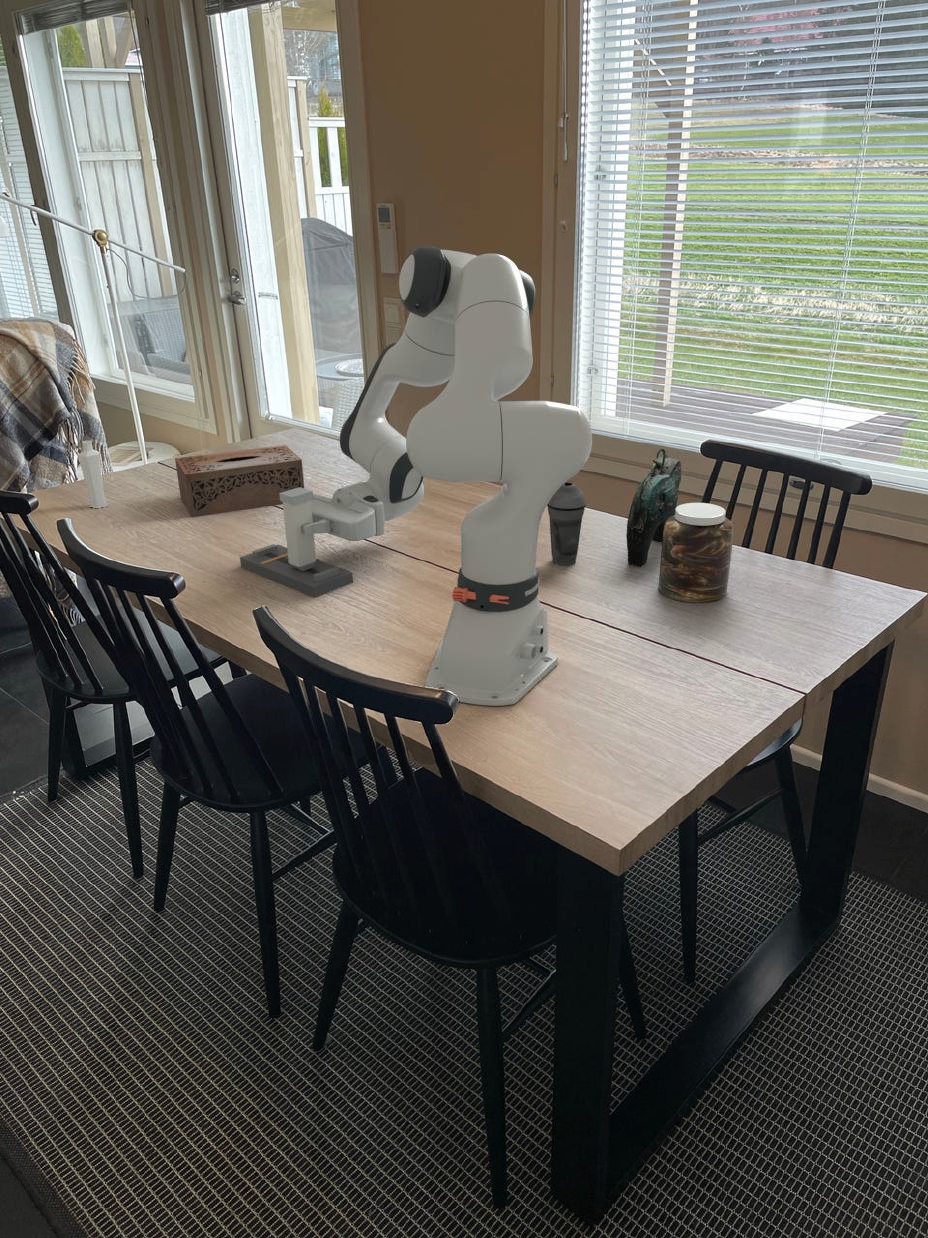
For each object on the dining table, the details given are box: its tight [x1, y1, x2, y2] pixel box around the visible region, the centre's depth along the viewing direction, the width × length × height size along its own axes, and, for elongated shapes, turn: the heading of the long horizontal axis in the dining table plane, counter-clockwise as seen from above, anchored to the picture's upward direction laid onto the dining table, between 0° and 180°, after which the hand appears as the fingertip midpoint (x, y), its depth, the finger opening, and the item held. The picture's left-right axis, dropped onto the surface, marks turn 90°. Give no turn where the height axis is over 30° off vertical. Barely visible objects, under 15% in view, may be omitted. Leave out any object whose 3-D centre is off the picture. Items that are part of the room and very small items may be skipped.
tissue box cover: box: [174, 444, 305, 518], centre depth 213 cm, size 26×14×10 cm, turn 114°
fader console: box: [239, 543, 354, 598], centre depth 173 cm, size 22×9×3 cm, turn 48°
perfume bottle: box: [77, 439, 108, 509], centre depth 209 cm, size 5×4×15 cm
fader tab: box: [279, 487, 317, 571], centre depth 168 cm, size 4×5×14 cm
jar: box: [658, 502, 734, 604], centre depth 162 cm, size 12×12×15 cm
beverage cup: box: [546, 481, 586, 567], centre depth 174 cm, size 7×7×20 cm
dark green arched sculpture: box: [626, 448, 682, 568], centre depth 179 cm, size 20×6×20 cm, turn 150°
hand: (295, 527), depth 168 cm, fingers closed on fader tab, 3 cm apart
